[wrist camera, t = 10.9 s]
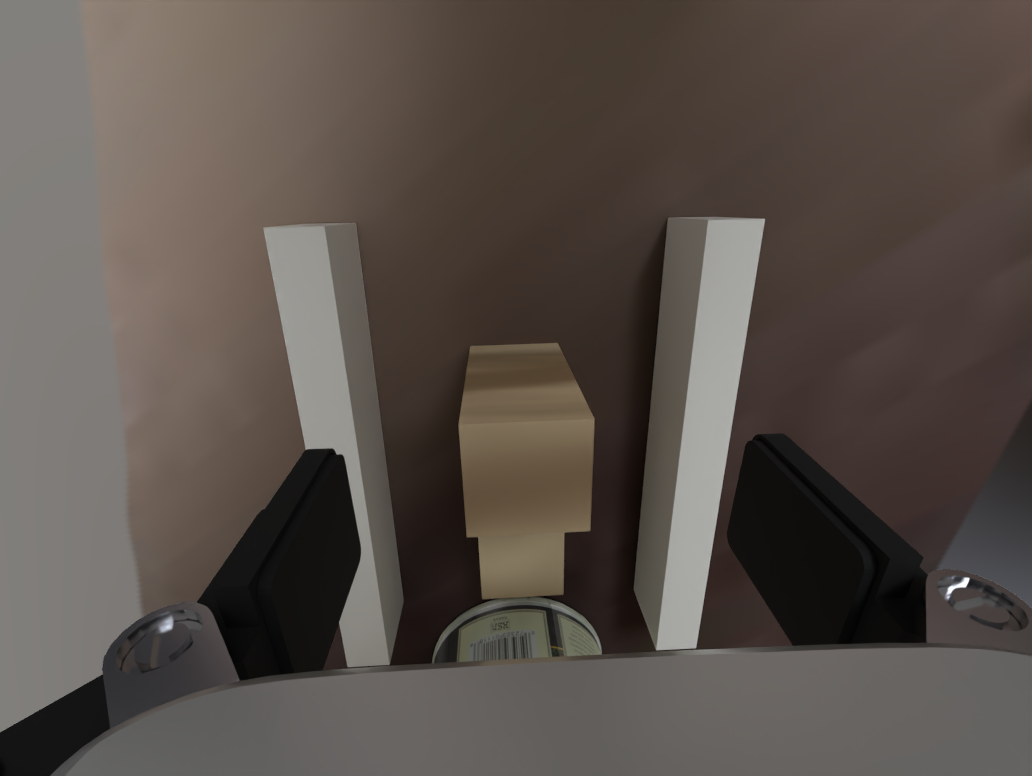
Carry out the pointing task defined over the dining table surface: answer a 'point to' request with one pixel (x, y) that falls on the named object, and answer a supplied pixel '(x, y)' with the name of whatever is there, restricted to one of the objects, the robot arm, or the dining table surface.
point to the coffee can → (516, 632)
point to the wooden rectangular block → (524, 465)
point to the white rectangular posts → (671, 433)
